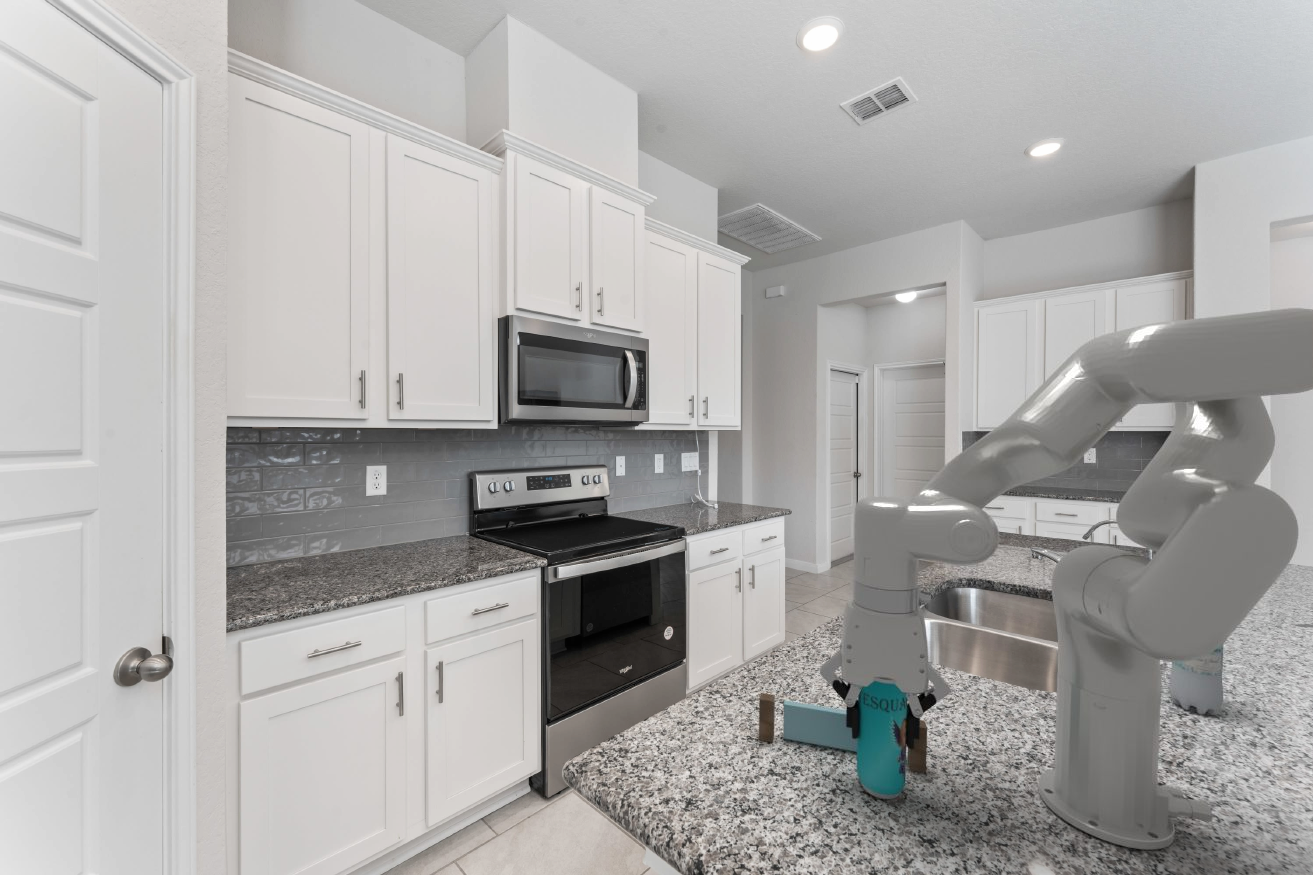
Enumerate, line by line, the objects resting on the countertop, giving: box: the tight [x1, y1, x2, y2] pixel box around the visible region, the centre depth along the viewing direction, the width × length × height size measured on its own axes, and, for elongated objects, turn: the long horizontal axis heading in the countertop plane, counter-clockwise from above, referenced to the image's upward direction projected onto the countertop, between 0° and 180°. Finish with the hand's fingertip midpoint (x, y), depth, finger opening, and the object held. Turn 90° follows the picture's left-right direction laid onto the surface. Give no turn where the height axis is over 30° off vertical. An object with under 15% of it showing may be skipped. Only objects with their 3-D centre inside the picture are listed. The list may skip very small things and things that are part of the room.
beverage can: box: [856, 677, 909, 800], centre depth 69 cm, size 6×6×15 cm
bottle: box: [1168, 638, 1228, 716], centre depth 90 cm, size 7×7×20 cm
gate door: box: [782, 699, 857, 753], centre depth 77 cm, size 16×1×5 cm, turn 72°
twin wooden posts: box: [758, 692, 928, 774], centre depth 77 cm, size 22×2×6 cm, turn 72°
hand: (881, 736), depth 69 cm, fingers closed on beverage can, 5 cm apart
